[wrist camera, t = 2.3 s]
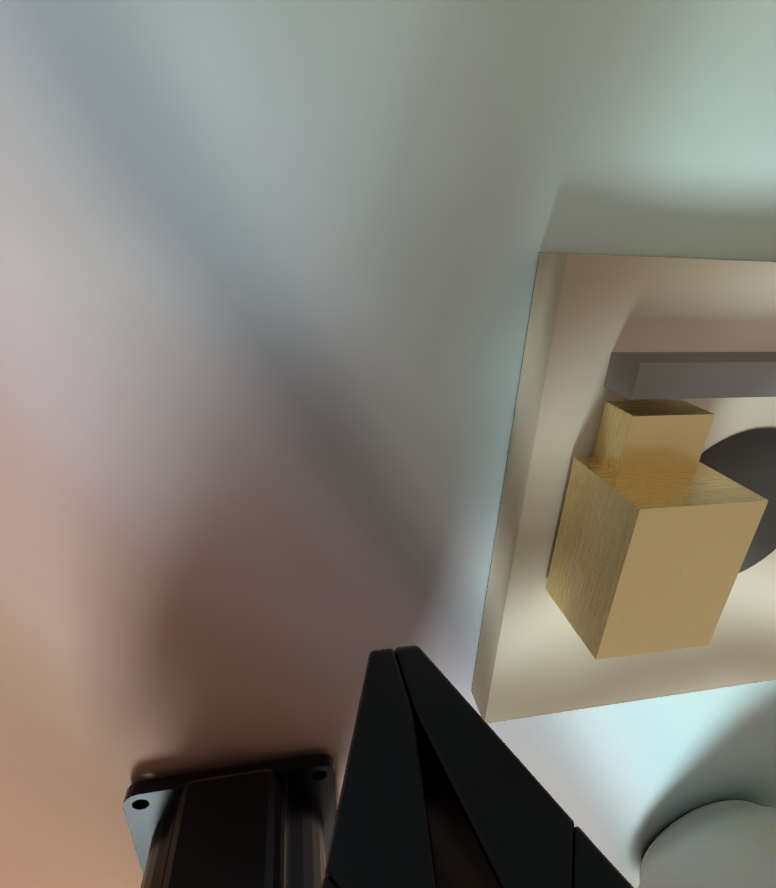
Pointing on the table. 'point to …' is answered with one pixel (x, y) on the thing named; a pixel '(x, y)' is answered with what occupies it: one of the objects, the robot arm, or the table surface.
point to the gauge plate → (574, 435)
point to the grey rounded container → (715, 849)
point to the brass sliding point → (649, 533)
